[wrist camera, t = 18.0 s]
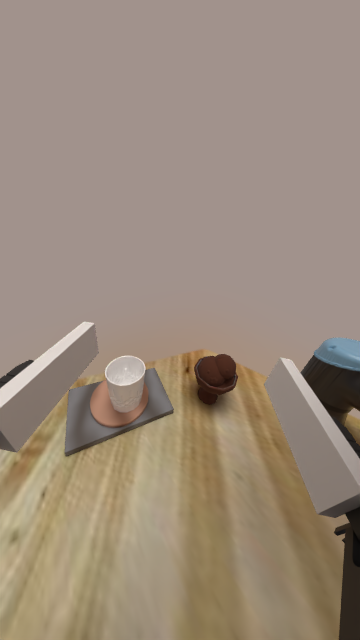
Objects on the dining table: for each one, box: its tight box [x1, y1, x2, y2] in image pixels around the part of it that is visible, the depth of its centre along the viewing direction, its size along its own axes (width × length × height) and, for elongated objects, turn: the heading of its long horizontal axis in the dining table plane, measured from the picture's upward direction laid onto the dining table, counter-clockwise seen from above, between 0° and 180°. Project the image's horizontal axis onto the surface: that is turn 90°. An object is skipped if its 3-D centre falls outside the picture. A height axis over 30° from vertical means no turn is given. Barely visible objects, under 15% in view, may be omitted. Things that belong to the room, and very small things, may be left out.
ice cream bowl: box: [194, 354, 238, 404], centre depth 43 cm, size 11×11×15 cm
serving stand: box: [65, 368, 174, 456], centre depth 40 cm, size 22×14×3 cm, turn 117°
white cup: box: [105, 356, 145, 413], centre depth 36 cm, size 8×8×10 cm
